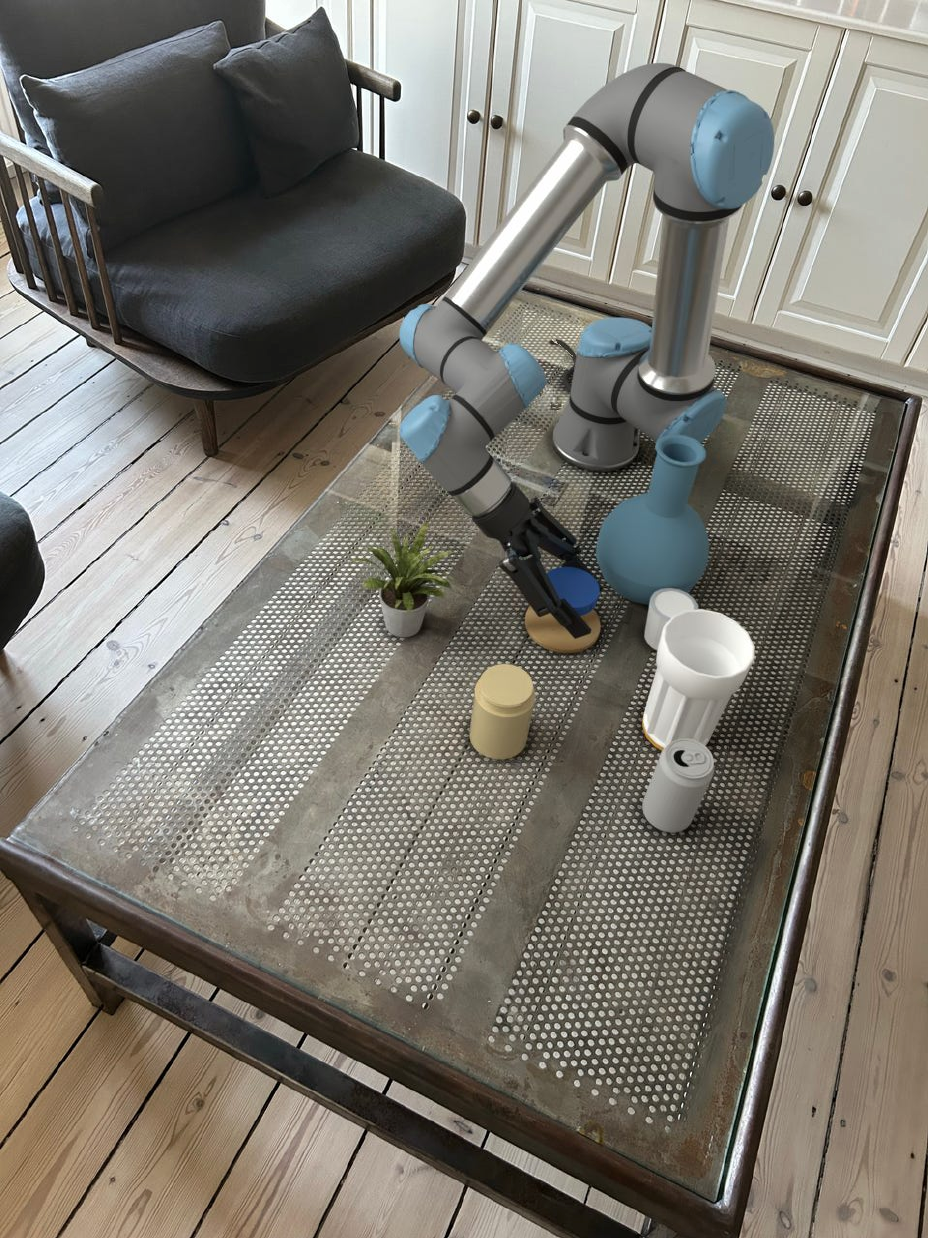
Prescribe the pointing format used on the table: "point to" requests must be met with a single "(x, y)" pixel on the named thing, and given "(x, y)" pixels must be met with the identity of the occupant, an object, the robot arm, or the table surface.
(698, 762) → the beverage can
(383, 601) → the house plant
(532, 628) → the coaster
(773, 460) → the table surface
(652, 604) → the shot glass
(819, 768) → the table surface
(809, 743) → the table surface
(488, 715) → the jar
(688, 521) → the vase
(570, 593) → the jar lid
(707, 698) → the cup
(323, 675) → the table surface
